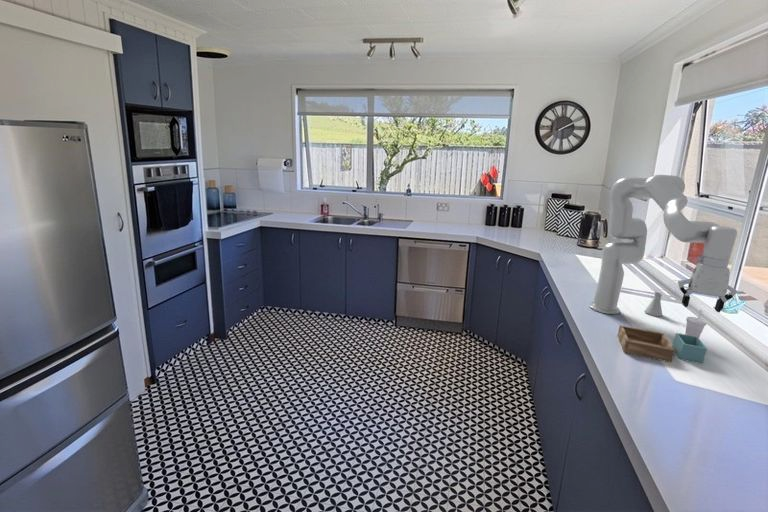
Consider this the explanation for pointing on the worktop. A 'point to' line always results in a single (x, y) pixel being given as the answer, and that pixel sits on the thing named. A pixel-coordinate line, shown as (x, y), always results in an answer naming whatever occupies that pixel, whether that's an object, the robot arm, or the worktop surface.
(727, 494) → the worktop surface
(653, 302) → the flask
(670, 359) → the big crate
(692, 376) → the worktop surface
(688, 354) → the small crate
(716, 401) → the worktop surface
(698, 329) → the smoothie
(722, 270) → the robot arm
